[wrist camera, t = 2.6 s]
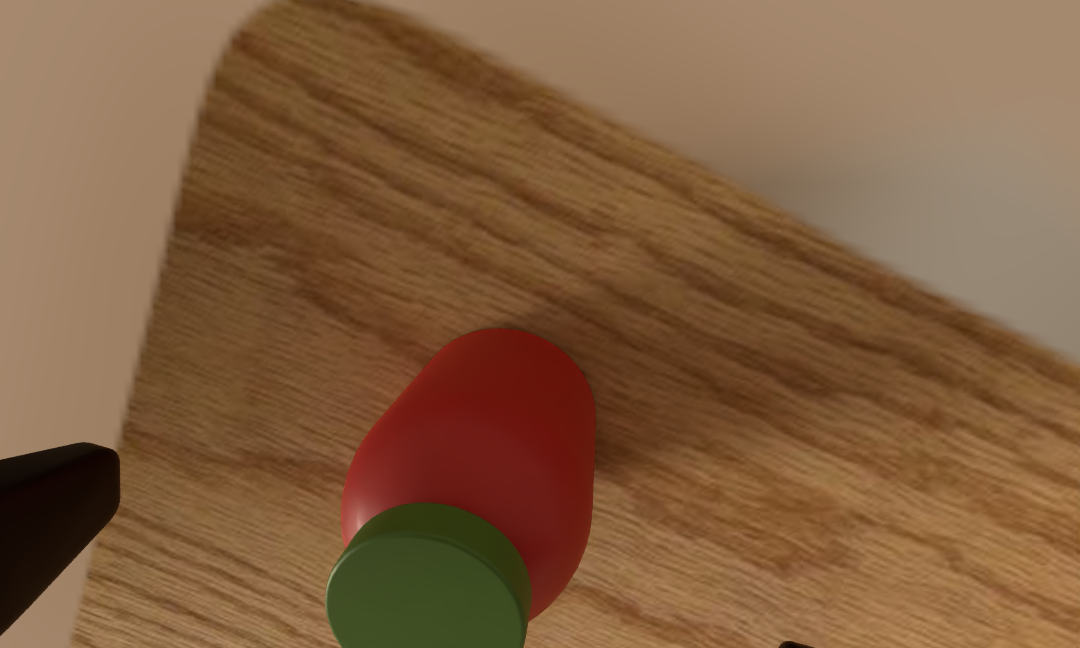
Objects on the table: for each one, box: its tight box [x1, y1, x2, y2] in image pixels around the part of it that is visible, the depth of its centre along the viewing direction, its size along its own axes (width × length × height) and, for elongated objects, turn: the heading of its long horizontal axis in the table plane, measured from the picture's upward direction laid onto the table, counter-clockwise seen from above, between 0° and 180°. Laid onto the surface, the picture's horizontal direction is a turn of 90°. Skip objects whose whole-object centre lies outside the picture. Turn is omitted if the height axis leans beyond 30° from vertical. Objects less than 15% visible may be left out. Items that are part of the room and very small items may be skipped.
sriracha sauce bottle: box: [325, 328, 596, 648], centre depth 9 cm, size 4×4×5 cm
